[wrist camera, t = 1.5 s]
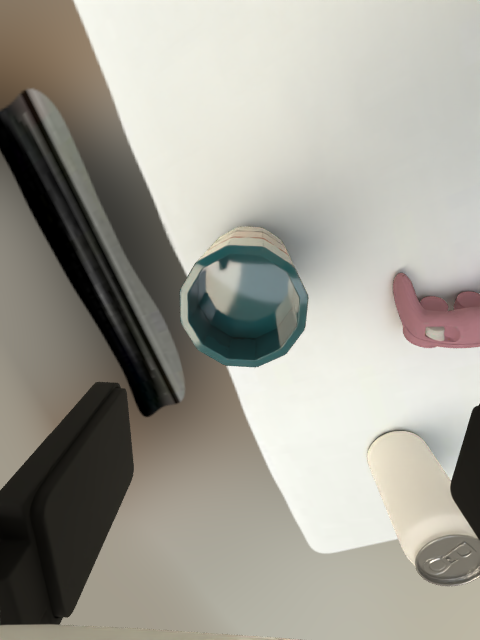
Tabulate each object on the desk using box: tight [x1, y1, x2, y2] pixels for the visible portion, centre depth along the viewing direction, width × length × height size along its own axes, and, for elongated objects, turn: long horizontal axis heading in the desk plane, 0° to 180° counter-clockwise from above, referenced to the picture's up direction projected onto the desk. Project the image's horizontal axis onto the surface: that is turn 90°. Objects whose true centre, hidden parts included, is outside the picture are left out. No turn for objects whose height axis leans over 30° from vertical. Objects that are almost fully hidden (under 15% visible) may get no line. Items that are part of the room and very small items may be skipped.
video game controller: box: [393, 273, 480, 348], centre depth 29 cm, size 10×5×7 cm, turn 99°
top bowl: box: [180, 237, 308, 367], centre depth 22 cm, size 7×7×5 cm
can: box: [367, 431, 480, 586], centre depth 32 cm, size 6×6×12 cm
